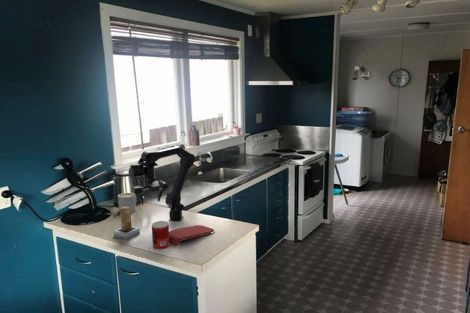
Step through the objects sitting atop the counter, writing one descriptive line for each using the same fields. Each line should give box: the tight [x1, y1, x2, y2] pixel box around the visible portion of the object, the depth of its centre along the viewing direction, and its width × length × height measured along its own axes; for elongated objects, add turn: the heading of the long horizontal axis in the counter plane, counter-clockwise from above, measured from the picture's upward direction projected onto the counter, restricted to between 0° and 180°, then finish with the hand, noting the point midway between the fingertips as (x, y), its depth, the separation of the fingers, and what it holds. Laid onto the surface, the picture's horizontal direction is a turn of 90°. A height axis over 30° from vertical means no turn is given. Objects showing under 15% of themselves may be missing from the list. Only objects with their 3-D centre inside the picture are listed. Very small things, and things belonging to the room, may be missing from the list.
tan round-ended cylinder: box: [119, 206, 133, 233], centre depth 187 cm, size 5×5×13 cm
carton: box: [169, 224, 215, 247], centre depth 186 cm, size 12×5×25 cm
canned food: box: [151, 220, 170, 250], centre depth 174 cm, size 8×8×11 cm
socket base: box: [113, 226, 141, 241], centre depth 188 cm, size 9×9×3 cm
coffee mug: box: [117, 192, 137, 214], centre depth 227 cm, size 13×10×10 cm
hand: (150, 203), depth 198 cm, fingers open, 9 cm apart
